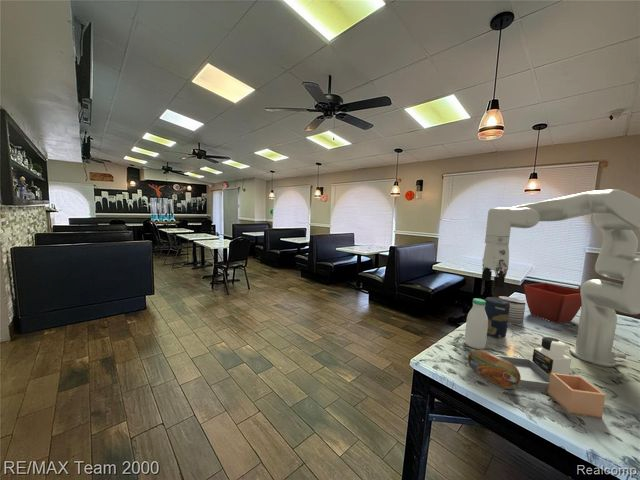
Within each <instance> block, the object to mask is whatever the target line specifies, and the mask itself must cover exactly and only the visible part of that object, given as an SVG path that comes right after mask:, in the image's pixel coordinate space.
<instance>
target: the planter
mask: <svg viewBox="0 0 640 480" xmlns="http://www.w3.org/2000/svg"><path fill="white" fill-rule="evenodd" d="M547 395H549V396H550V397H551V398H552V399H553V400H554V401H555V402H556V403H557V404H558V405H559V406H560V407H561V408H562V409H563V410H564V411H566V413H567V414H570V415H577V416H583V417H590V418H597V419H603V415H604V408H605V401H606V394H605V393H603V391H601V390H599V388H597V387H596V386H594V385H593V384H592V383H590V382H589V381H587V380H586V378H584V377H582V376H581V375H572V374H569V375H566V374H558V373H551V374H550V381H549V388H548V391H547Z"/></svg>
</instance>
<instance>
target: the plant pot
mask: <svg viewBox="0 0 640 480" xmlns="http://www.w3.org/2000/svg"><path fill="white" fill-rule="evenodd" d="M523 289H524V296H525V300H526V301H525V302H526V304H527V308H528V310H529V313H530V315H531V314H532V315H531V316H534V315H535V317H537V316H538V318H540V317H541V318H540V319H543V318H544V319H543V320H545V319H547V320H546V321H548V320H549V321H548V322H551V323H554V324H562V323H567V322H568V323H569V322H572V321H573V319H574V318H575V317H576V316H577V314H578V313H579V311H580V310H581V305H582V303H581V294H580V290H578V289H571V288H567V287H564V286H559V285H555V284H552V283H546V282H543V283H541V282H540V283H532V284H530V283H529V284H524V285H523Z"/></svg>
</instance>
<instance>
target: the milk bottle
mask: <svg viewBox="0 0 640 480" xmlns="http://www.w3.org/2000/svg"><path fill="white" fill-rule="evenodd" d="M485 305H486V301H485V299H482V298H476V297H475V298H473V299H472V307H471V309H470V310H469V312H468V314H467V316H466V323H465V330H464V331H465V333H464V344H465V345H467V346H468V347H470V348H473V349H475V350H484V349H485V348H486V345H487V336H488V335H487V329H488V318H487V315H486V312H485Z"/></svg>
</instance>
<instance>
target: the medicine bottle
mask: <svg viewBox="0 0 640 480" xmlns="http://www.w3.org/2000/svg"><path fill="white" fill-rule="evenodd" d="M565 351H566V343H565V342H563V341H562V340H559V339H558V338H555V337H548V336H544V337H542V338H541V345H540V347H534V348H533V352H532V359H531V360H532V361H533V362H534V363H535V364H537V365H538V366H539V367H540V368H541V369H542V370H544V371H545V372H546V373H547V374H548V375H549V376H550V374H551V373H558V374H566V375H570V370H571V365H572V358H571V357H569V356H568V355H567V354H565Z"/></svg>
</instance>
